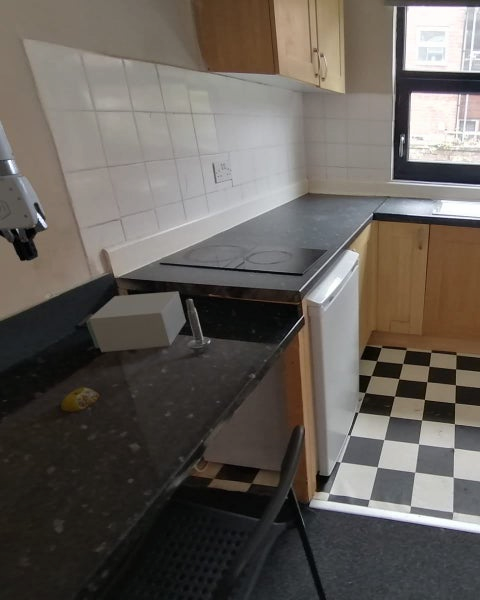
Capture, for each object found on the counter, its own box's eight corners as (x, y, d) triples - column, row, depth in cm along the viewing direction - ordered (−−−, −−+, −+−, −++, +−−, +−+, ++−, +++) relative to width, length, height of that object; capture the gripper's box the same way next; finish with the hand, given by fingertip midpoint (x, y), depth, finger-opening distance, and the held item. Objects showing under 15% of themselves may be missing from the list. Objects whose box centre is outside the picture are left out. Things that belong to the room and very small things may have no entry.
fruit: (106, 420, 71) (99, 403, 69) (52, 426, 69) (44, 409, 68) (125, 391, 78) (120, 375, 76) (77, 397, 77) (70, 381, 75)
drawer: (74, 350, 91) (63, 323, 88) (98, 326, 101) (90, 302, 98) (159, 342, 94) (152, 316, 91) (175, 320, 104) (168, 296, 101)
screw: (214, 352, 91) (190, 358, 89) (211, 343, 95) (188, 348, 93) (202, 300, 86) (176, 305, 83) (199, 292, 89) (175, 296, 87)
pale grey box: (101, 352, 91) (88, 318, 88) (125, 326, 103) (114, 296, 99) (170, 345, 94) (161, 312, 90) (186, 321, 105) (178, 291, 102)
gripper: (-68, 173, 74) (-24, 267, 82) (24, 171, 77) (58, 262, 84) (-36, 169, 81) (2, 256, 89) (47, 167, 84) (77, 251, 91)
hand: (29, 258), depth 87 cm, fingers closed
